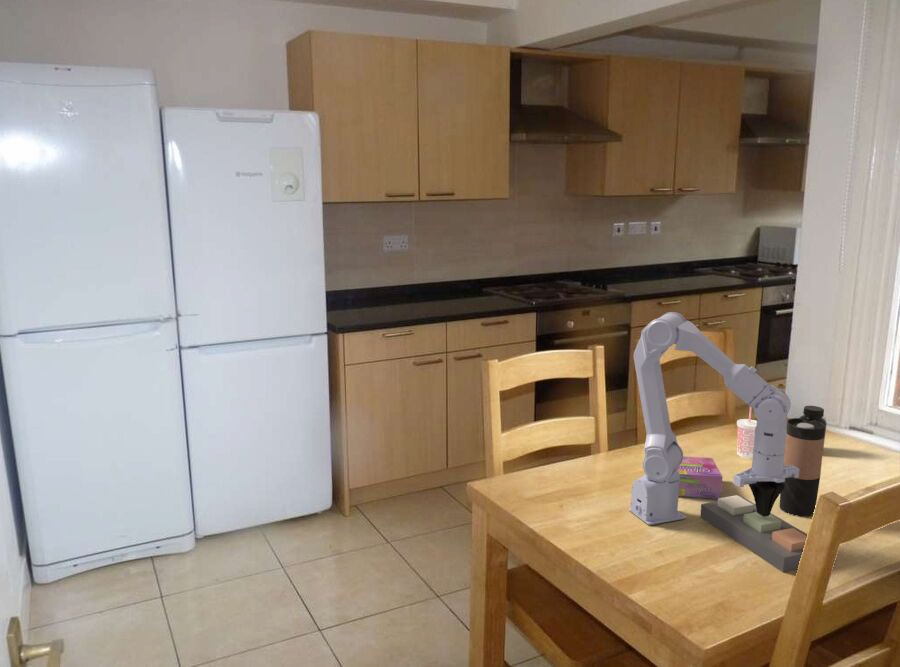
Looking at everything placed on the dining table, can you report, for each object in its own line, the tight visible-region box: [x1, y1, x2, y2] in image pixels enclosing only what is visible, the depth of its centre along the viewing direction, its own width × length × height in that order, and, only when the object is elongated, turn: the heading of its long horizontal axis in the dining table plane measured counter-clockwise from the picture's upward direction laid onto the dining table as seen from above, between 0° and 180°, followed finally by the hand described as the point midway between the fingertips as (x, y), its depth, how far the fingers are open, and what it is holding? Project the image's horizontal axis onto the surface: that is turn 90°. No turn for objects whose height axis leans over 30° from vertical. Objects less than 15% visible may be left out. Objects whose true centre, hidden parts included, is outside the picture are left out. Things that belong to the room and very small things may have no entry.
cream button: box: [717, 494, 753, 516], centre depth 156 cm, size 5×5×2 cm
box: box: [677, 455, 723, 500], centre depth 173 cm, size 10×6×12 cm
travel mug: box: [779, 417, 826, 517], centre depth 160 cm, size 8×8×20 cm
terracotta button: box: [772, 528, 807, 552], centre depth 141 cm, size 5×5×2 cm
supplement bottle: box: [799, 405, 828, 449], centre depth 196 cm, size 7×7×12 cm
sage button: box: [743, 512, 782, 533], centre depth 149 cm, size 5×5×2 cm
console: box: [700, 496, 807, 573], centre depth 149 cm, size 11×24×3 cm, turn 19°
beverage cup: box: [736, 406, 757, 459], centre depth 192 cm, size 6×6×14 cm
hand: (763, 514), depth 148 cm, fingers closed
